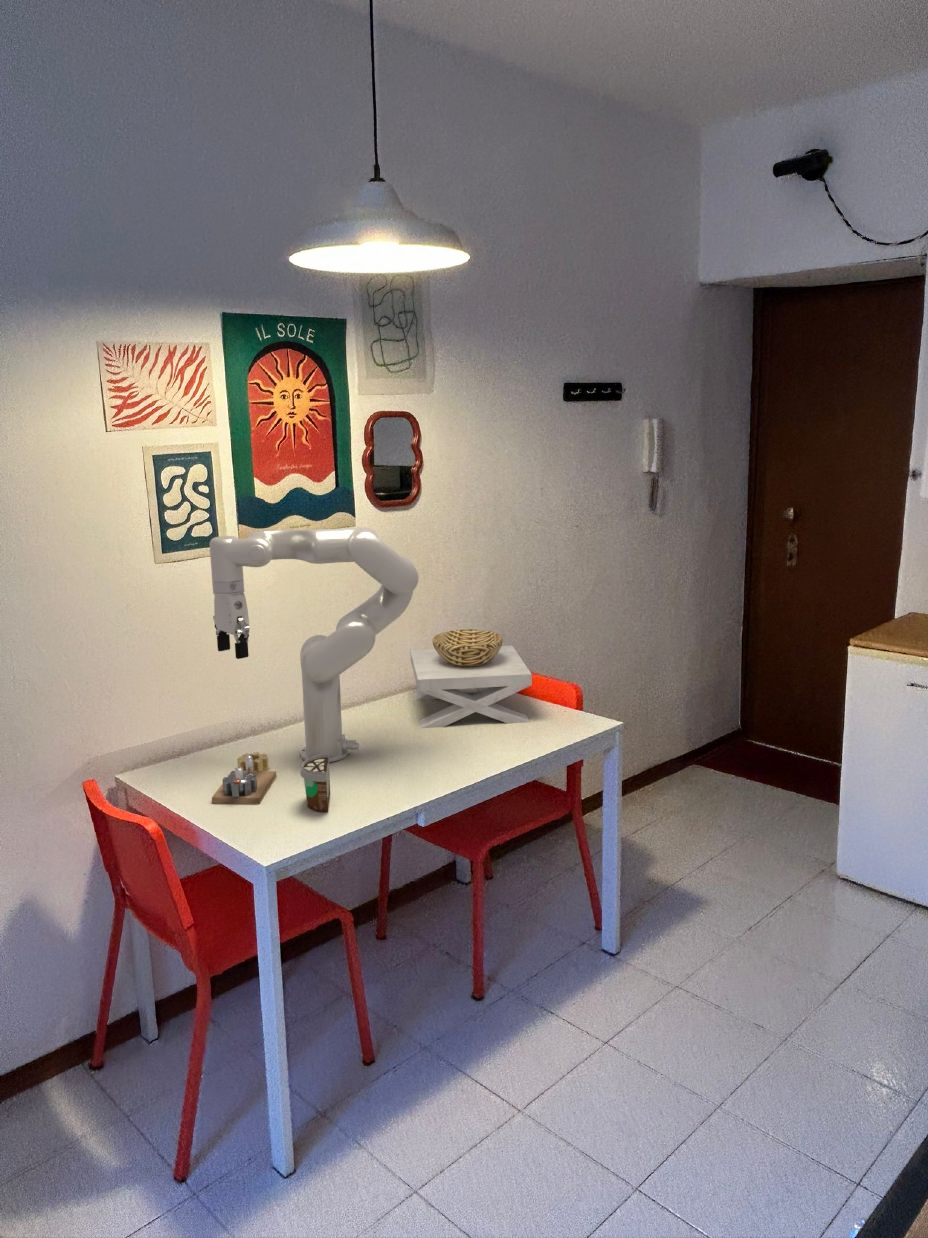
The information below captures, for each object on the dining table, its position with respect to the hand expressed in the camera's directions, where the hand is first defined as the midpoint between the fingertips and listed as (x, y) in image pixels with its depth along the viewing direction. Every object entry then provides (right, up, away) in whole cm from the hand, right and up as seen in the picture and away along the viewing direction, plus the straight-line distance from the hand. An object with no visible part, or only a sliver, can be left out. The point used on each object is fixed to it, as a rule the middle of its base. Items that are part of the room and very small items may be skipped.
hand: (233, 654), depth 237 cm
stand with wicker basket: (+59, -18, +46) cm, 77 cm away
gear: (+6, -31, -16) cm, 36 cm away
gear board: (+6, -32, -12) cm, 34 cm away
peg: (+6, -29, -8) cm, 31 cm away
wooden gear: (+5, -29, 0) cm, 29 cm away
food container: (+24, -34, -20) cm, 46 cm away
